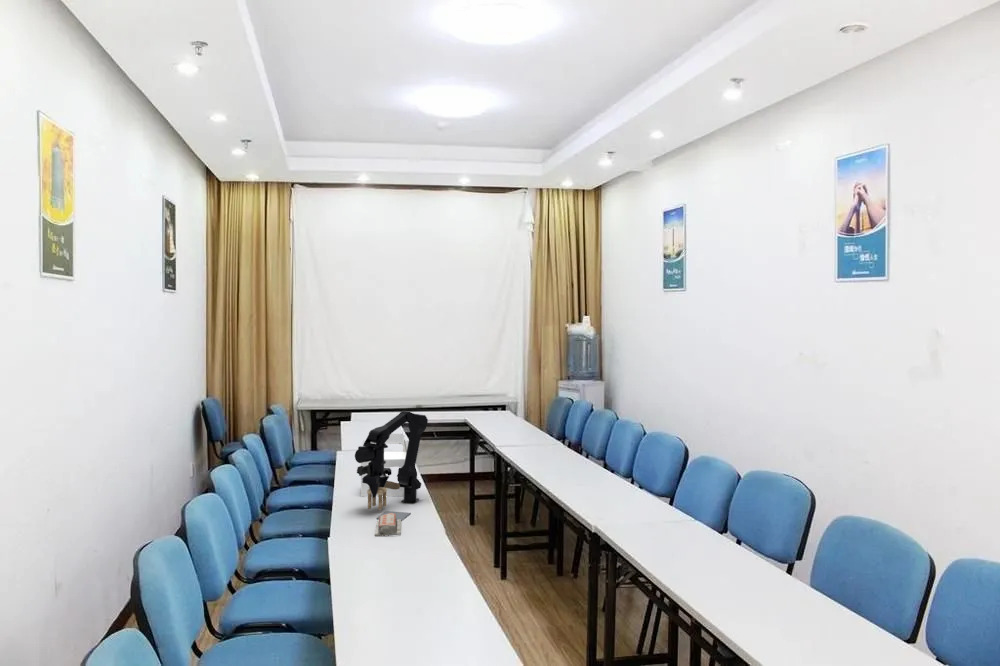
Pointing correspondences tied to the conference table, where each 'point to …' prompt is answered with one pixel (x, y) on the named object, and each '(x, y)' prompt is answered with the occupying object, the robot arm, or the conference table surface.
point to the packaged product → (388, 525)
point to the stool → (373, 499)
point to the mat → (398, 514)
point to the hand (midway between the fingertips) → (377, 495)
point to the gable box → (391, 461)
